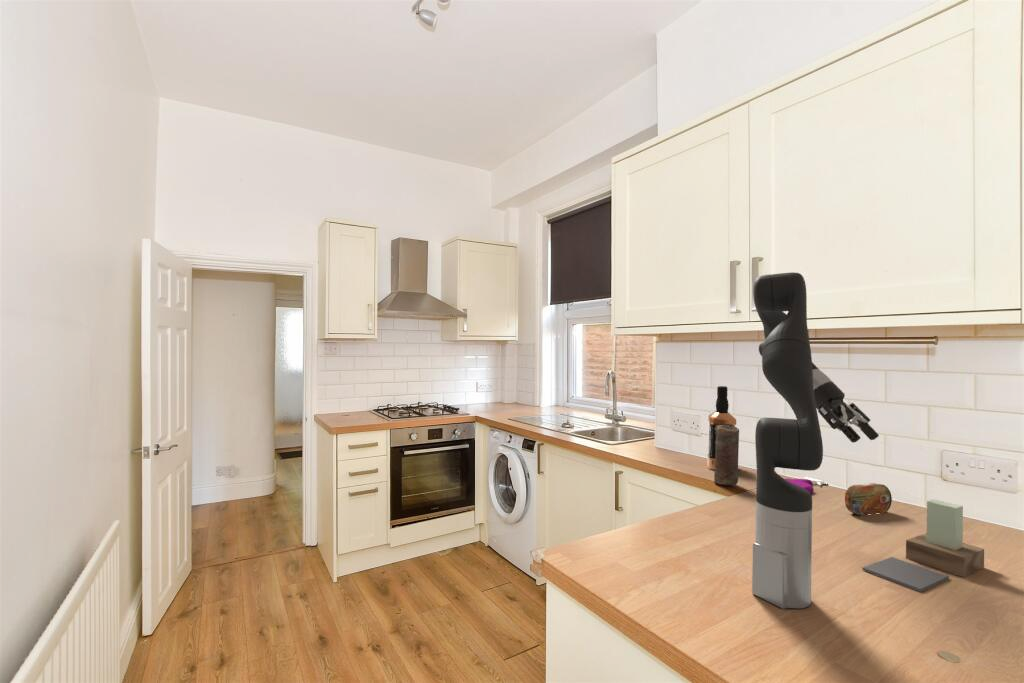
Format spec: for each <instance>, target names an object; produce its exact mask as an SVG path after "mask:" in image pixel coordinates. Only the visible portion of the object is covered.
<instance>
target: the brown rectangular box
mask: <svg viewBox="0 0 1024 683" xmlns="http://www.w3.org/2000/svg"><path fill="white" fill-rule="evenodd" d="M905 558H906V559H909V560H911V561H914V562H918V563H920V564H923V565H926V566H930V567H932V568H935V569H938V570H941V571H944V572H948V573H950V574H953V575H956V576H959V577H963V578H964V577H968V576H969V575H971V574H974V573H975V572H978V571H980V570H982V569H984V568H985V548H983V547H978V546H975V545H972V544H968V543H964V542H963V547H962V548H960V549H957V550H953V549H950V548H946V547H943V546H940V545H936V544H933V543H929V542H927V532H925V533H923V534H919V535H916V536H914V537H911V538H908V539H906V540H905Z"/></svg>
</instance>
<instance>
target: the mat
mask: <svg viewBox="0 0 1024 683" xmlns="http://www.w3.org/2000/svg"><path fill="white" fill-rule="evenodd" d="M863 570H865V571H864V572H866V571H868V572H870V573H869V574H871V573H872V574H871V575H874V574H875V575H874V576H876V575H878V576H877V577H879V576H880V578H882V577H883V578H882V579H884V578H885V580H887V579H888V580H887V581H890V582H892V581H893V583H895V584H897V585H900V584H901V586H903V587H906V588H909V589H911V590H914V591H917V592H919V593H922V592H924V591H926V590H928V589H931V588H933V587H935V586H937V585H940V584H942V583H944V582H945V581H947V580H949V579H950V576H949V575H946V574H944V573H941V572H937V571H935V570H932V569H928V568H926V567H923V566H920V565H917V564H914V563H911V562H908V561H906V560H903V559H899V558H896V557H893V556H890V557H887V558H885V559H882V560H879V561H877V562H874V563H871V564H868V565H866V566H863V567H862V571H863ZM868 572H867V573H868Z"/></svg>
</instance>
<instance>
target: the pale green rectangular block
mask: <svg viewBox="0 0 1024 683" xmlns="http://www.w3.org/2000/svg"><path fill="white" fill-rule="evenodd" d="M963 517H964V506H963V505H961V504H960V505H959V504H957V503H952V502H948V501H944V500H943V501H942V500H939V499H935V498H934V499H932V500H931V499H930V500H927V501H926V533H927V542H929V543H933V544H936V545H940V546H943V547H946V548H950V549H953V550H957V549H960V548H962V547H963V543H964V542H963V539H964V536H963V535H964V532H963V529H964V527H963V526H964V522H963V520H964V518H963Z"/></svg>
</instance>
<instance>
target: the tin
mask: <svg viewBox="0 0 1024 683" xmlns="http://www.w3.org/2000/svg"><path fill="white" fill-rule="evenodd" d="M892 501H893V498H892V492H891V490H890V489H889V488H888V486H886V485H885V484H881V483H876V482H872V483H862V484H853V485H850V486H849V487H848V488H847V489H846V491H845V493H844V503H845V507H846V509H847V510H848V512H850V513H851V514H854V515H857V516H859V515H860V517H862V516H861V515H868V514H876V513H884V514H886V513H887V512H888V511H889V510H890V508H891V506H892Z"/></svg>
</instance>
